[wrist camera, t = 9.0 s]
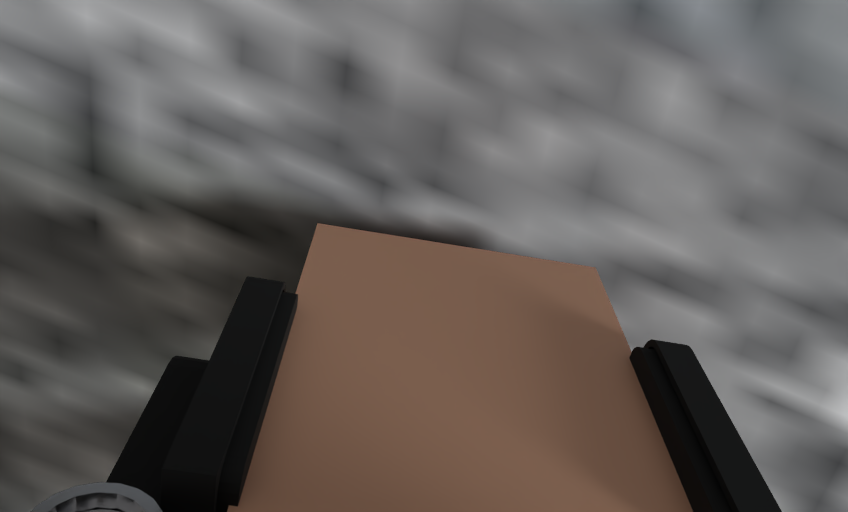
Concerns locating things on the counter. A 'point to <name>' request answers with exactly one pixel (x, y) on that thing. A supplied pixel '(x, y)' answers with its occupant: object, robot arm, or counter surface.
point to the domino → (454, 389)
